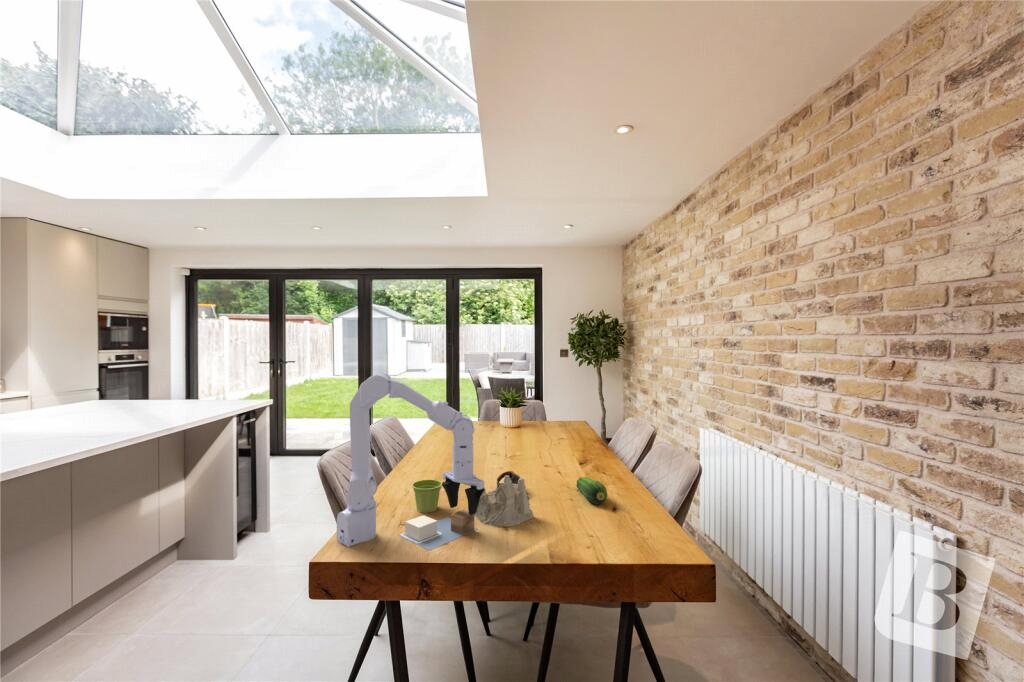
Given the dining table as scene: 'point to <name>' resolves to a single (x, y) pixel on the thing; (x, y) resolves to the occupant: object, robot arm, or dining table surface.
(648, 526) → the dining table surface
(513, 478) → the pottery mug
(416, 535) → the cream base block
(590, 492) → the vegetable
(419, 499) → the plant pot
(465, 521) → the walnut block
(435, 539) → the board
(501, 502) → the jagged grey rock
